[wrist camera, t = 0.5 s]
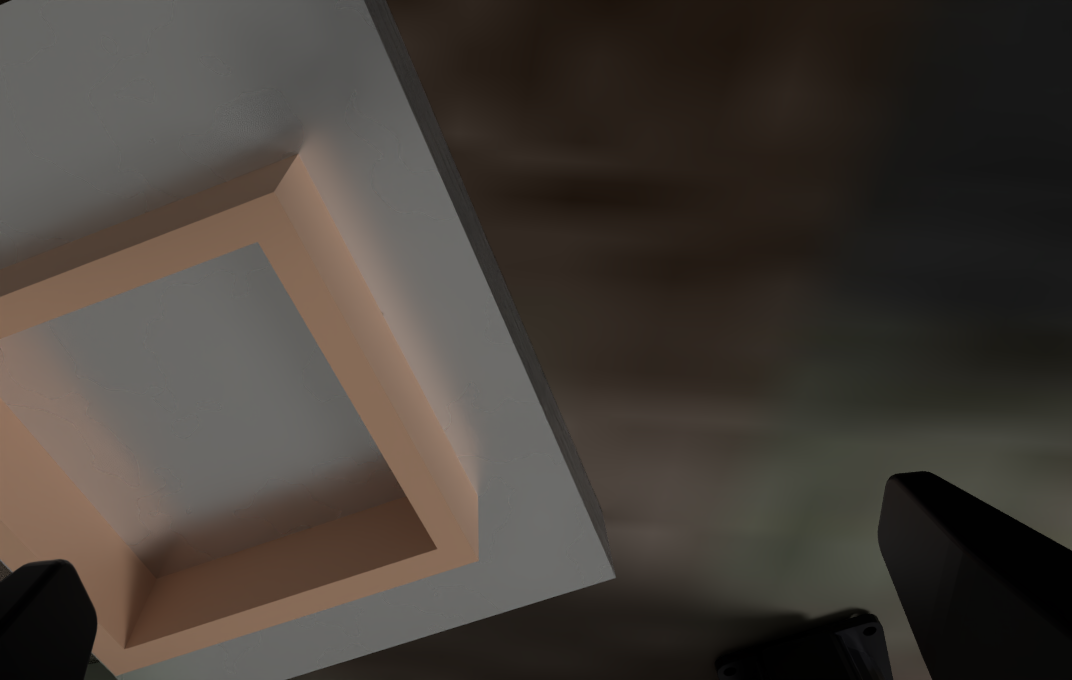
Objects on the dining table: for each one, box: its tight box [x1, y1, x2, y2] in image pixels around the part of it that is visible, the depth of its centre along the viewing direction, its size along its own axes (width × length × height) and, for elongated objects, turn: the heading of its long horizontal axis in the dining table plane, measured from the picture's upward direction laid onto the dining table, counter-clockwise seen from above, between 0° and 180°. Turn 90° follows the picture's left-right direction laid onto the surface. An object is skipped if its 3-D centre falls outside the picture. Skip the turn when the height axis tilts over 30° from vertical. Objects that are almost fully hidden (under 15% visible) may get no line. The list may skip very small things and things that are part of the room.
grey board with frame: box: [0, 0, 616, 680], centre depth 21 cm, size 20×16×6 cm
